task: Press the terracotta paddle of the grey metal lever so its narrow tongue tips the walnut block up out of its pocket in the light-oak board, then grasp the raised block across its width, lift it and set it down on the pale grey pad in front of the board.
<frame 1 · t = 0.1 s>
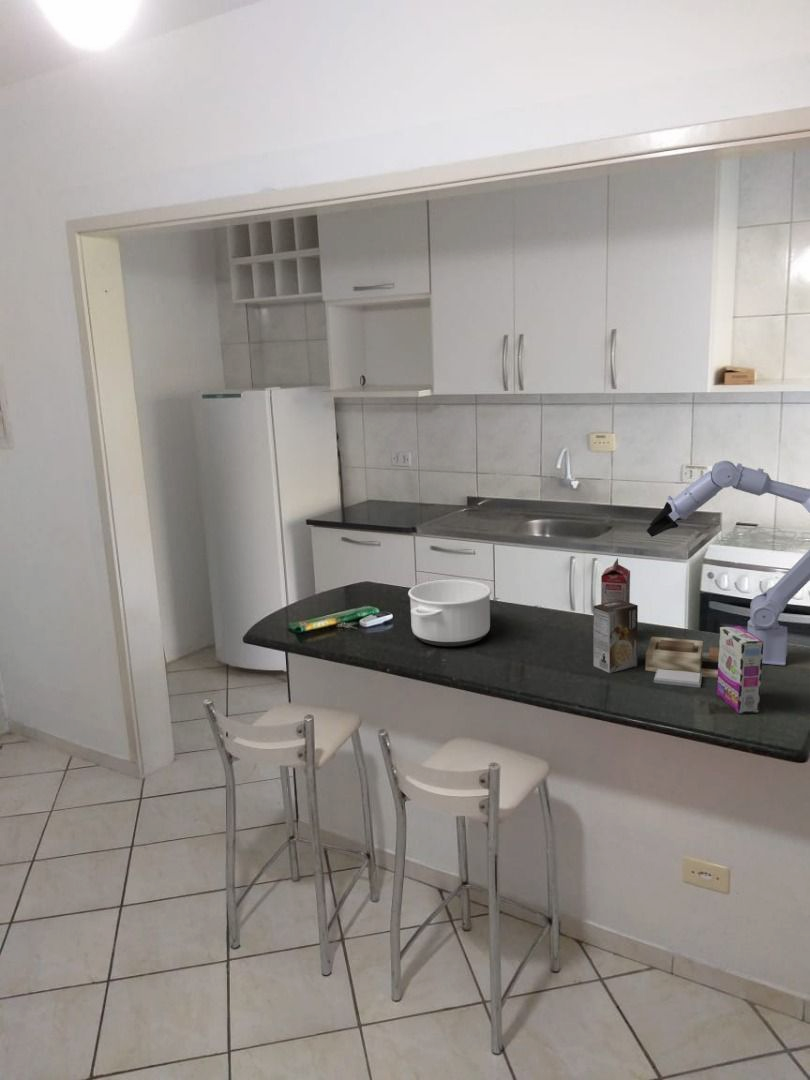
hand: (650, 530, 216), 32 cm above the countertop, tool tilted 50°, fingers open, 7 cm apart
juice carton: (614, 639, 232), on the countertop
pot: (451, 637, 239), on the countertop
lever: (688, 652, 210), point 3 cm above the countertop, hinge at 0.0°, touching walnut block
pocket board: (683, 664, 211), on the countertop
grey pad: (677, 680, 202), on the countertop
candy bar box: (737, 704, 188), on the countertop
walnut block: (676, 651, 211), point 3 cm above the countertop, touching lever
coffee box: (615, 666, 213), on the countertop
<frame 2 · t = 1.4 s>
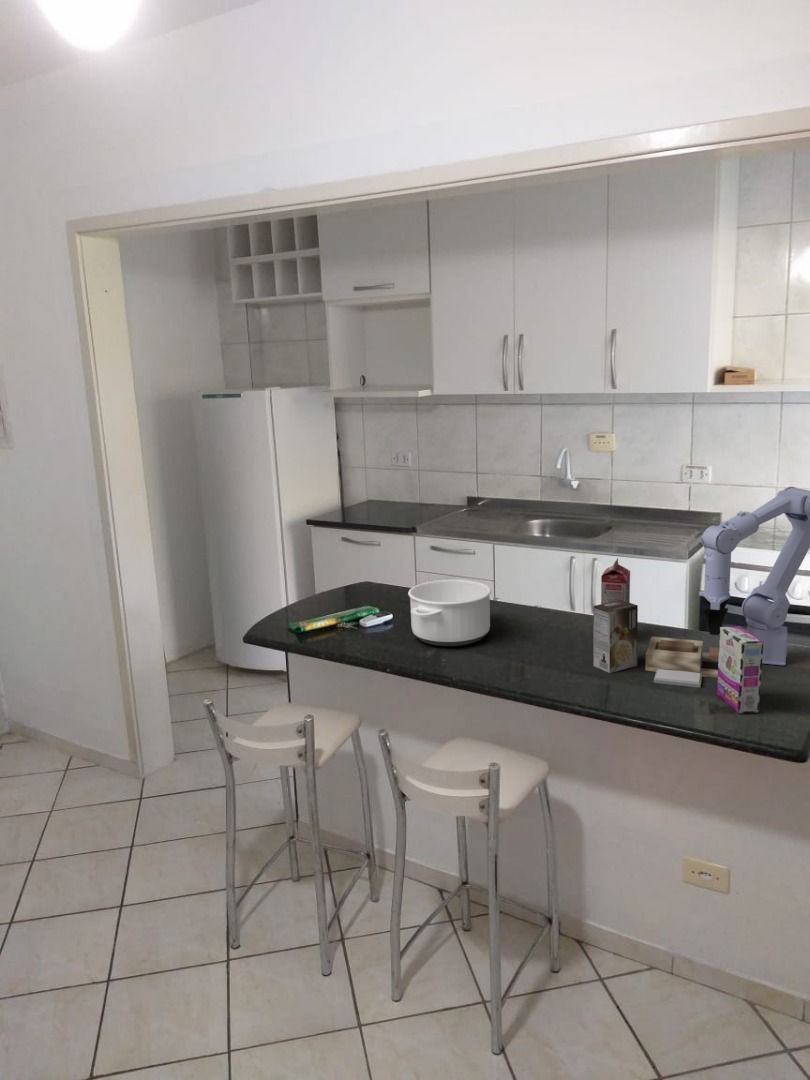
hand: (715, 629, 207), 10 cm above the countertop, tool pointing down, fingers open, 7 cm apart
nothing on the countertop moved.
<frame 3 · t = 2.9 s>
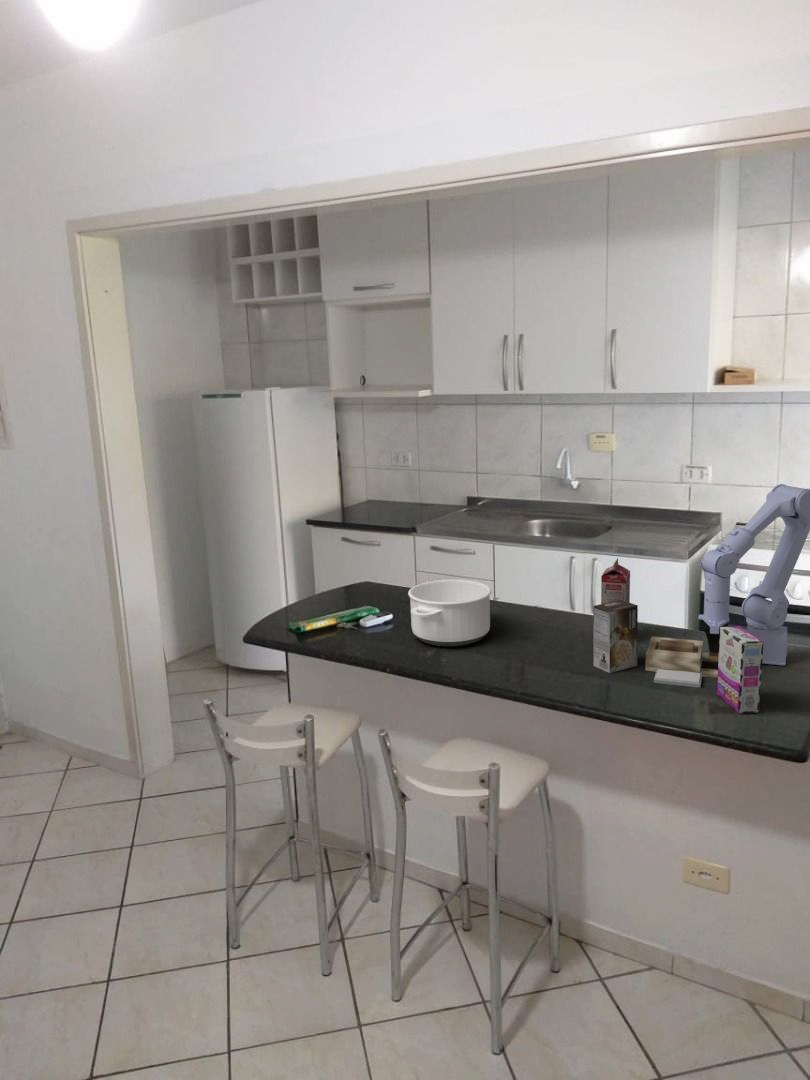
hand: (714, 652, 208), 4 cm above the countertop, tool pointing down, fingers closed, pressing on lever
lever: (688, 652, 210), point 3 cm above the countertop, hinge at 0.6°, touching gripper, walnut block
everything else where it was.
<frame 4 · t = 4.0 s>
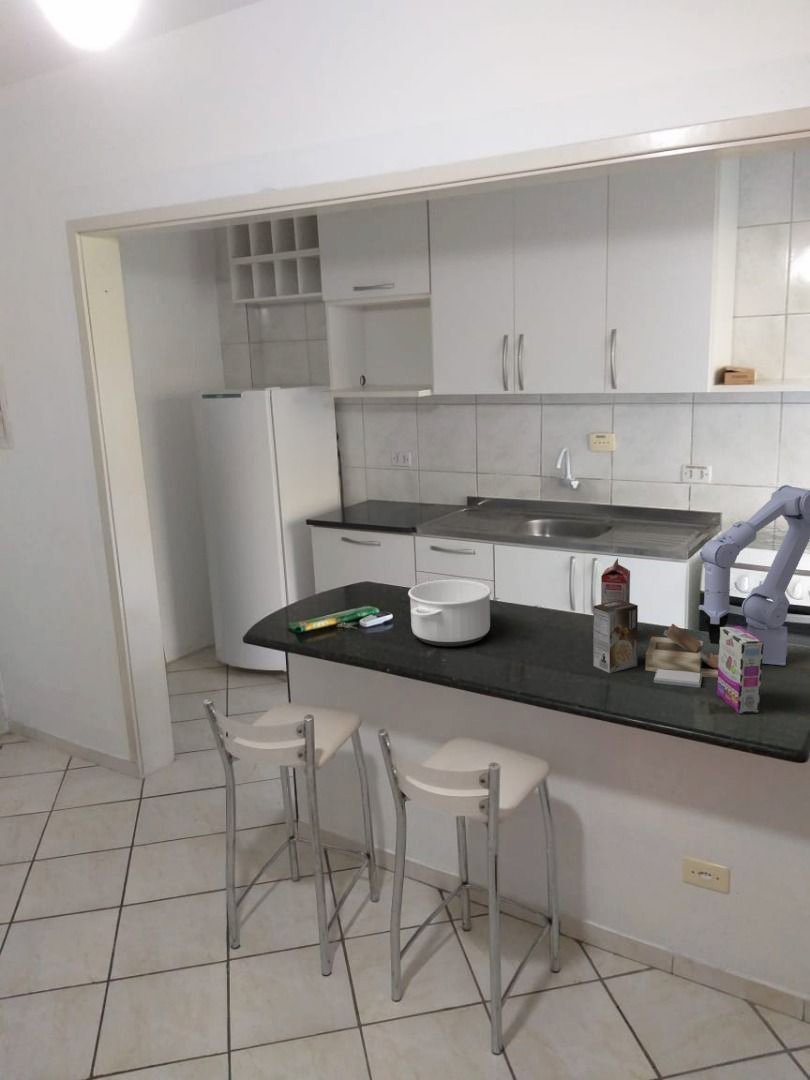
hand: (715, 642, 207), 6 cm above the countertop, tool pointing down, fingers closed
lever: (690, 647, 210), point 5 cm above the countertop, hinge at 32.3°, touching walnut block
walnut block: (681, 641, 210), point 6 cm above the countertop, tilted 32°, touching lever
everything else where it was.
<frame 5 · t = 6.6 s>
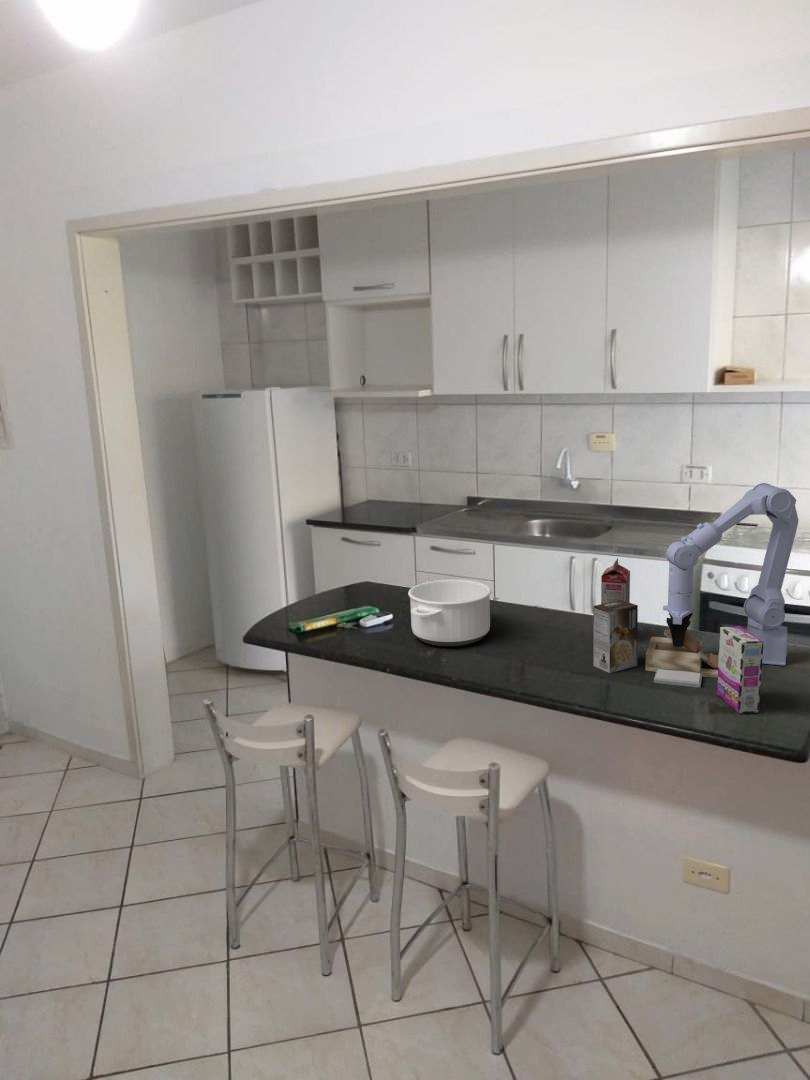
hand: (678, 643, 211), 6 cm above the countertop, tool pointing down, fingers closed on walnut block, 4 cm apart
walnut block: (681, 641, 210), point 6 cm above the countertop, tilted 32°, touching gripper, lever
everything else where it was.
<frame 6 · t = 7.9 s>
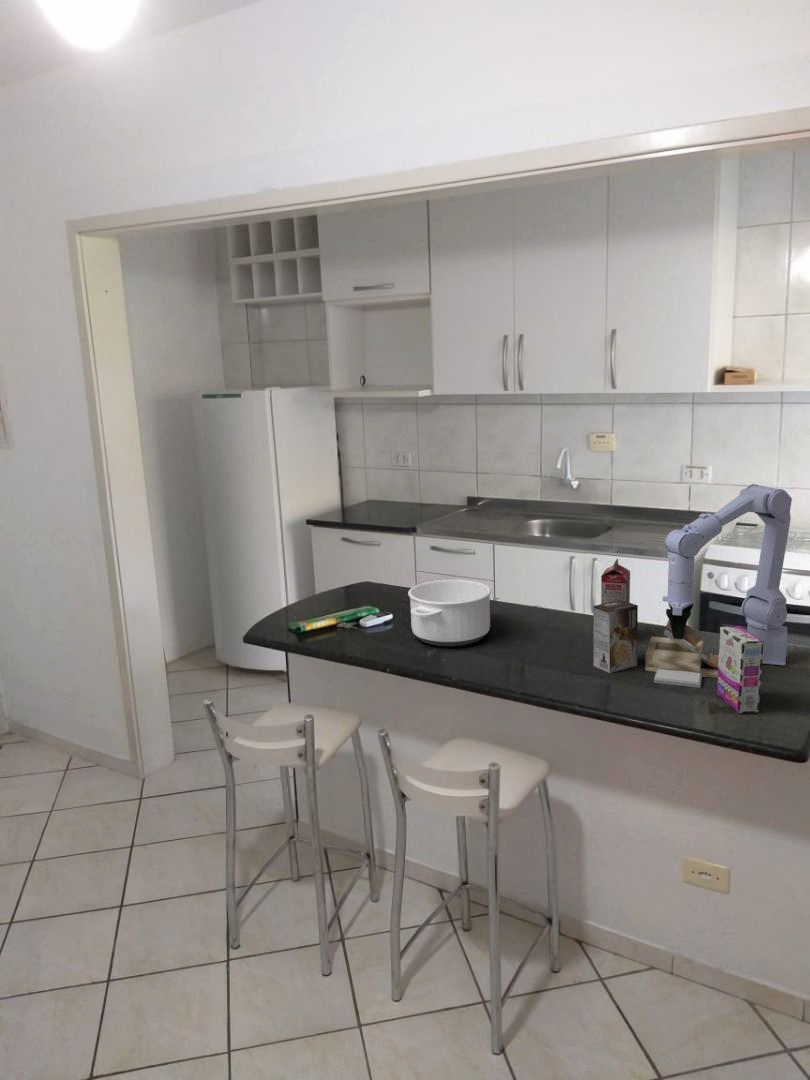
hand: (678, 635, 203), 10 cm above the countertop, tool pointing down, fingers closed on walnut block, 4 cm apart
lever: (691, 647, 210), point 5 cm above the countertop, hinge at 32.6°
walnut block: (681, 633, 202), point 11 cm above the countertop, tilted 33°, touching gripper
everything else where it was.
when the fingers open (5 cm above the countertop, at t = 9.4 s): walnut block drops 4 cm, resting on grey pad.
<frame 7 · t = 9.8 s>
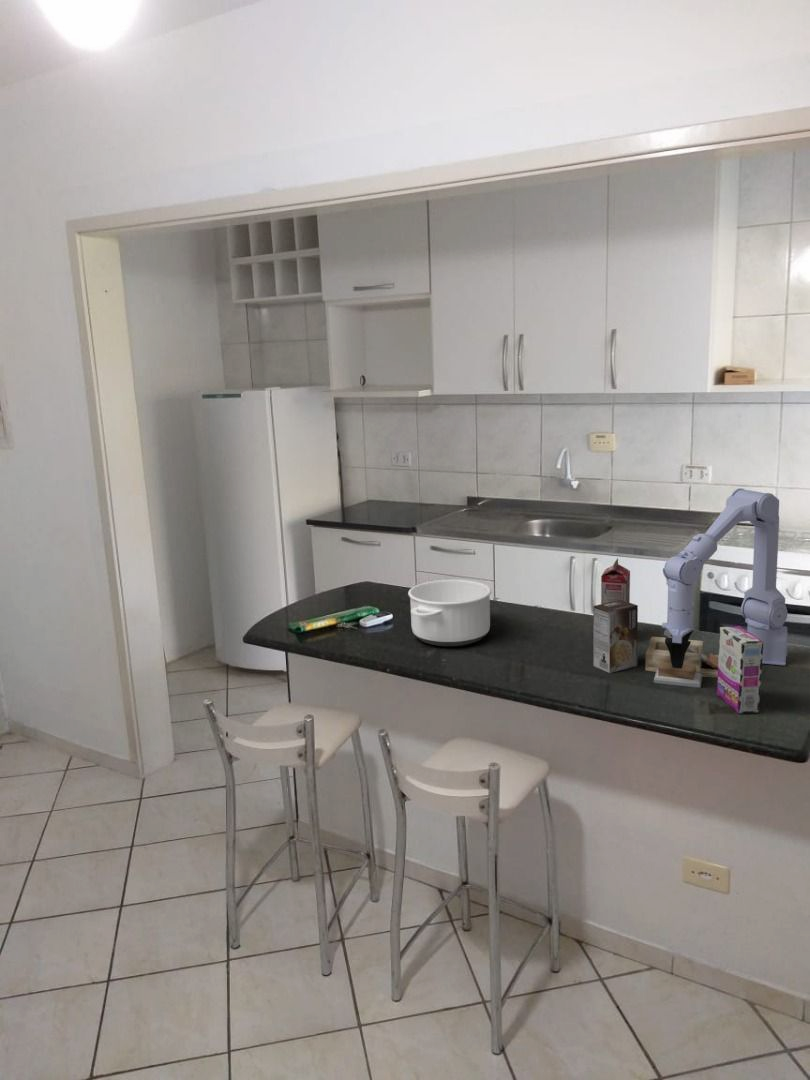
hand: (678, 661, 201), 5 cm above the countertop, tool pointing down, fingers open, 7 cm apart
walnut block: (676, 674, 202), point 1 cm above the countertop, touching grey pad
everything else where it was.
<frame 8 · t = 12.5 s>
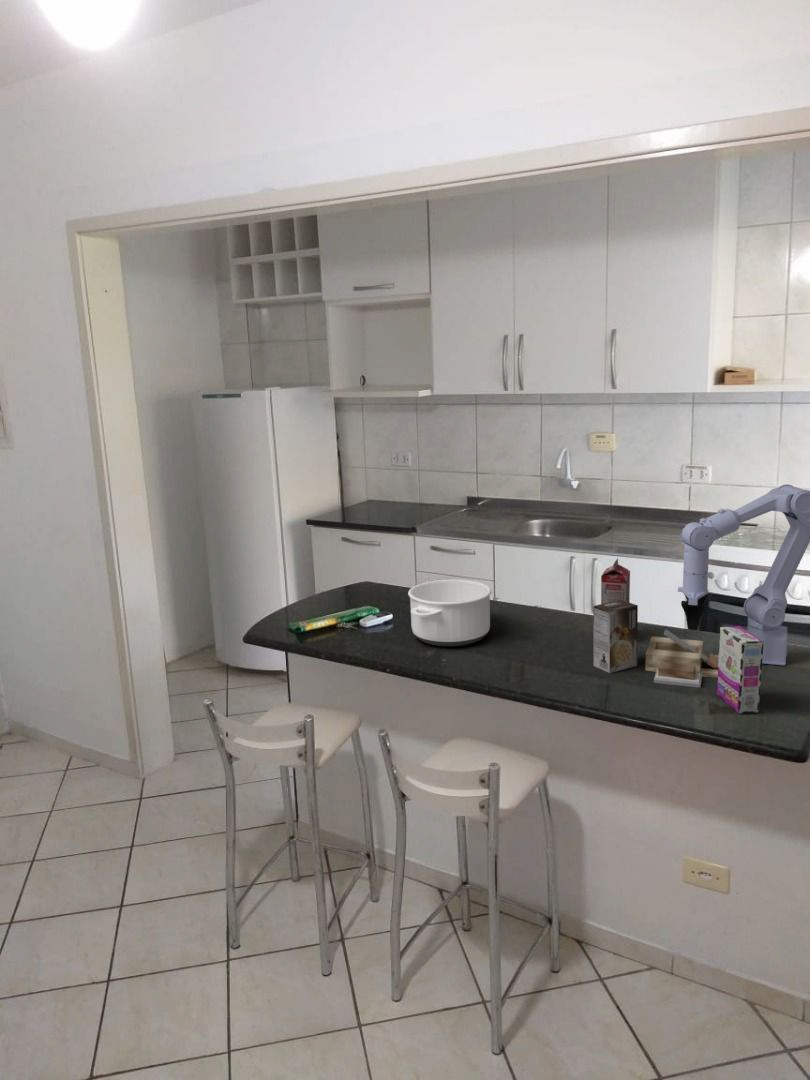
hand: (693, 624, 210), 10 cm above the countertop, tool pointing down, fingers open, 7 cm apart
nothing on the countertop moved.
at the end: walnut block inside the target area on the grey pad (0.5 cm from its centre), point 1.2 cm above the grey pad's base; walnut block touching grey pad; the gripper is holding nothing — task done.
